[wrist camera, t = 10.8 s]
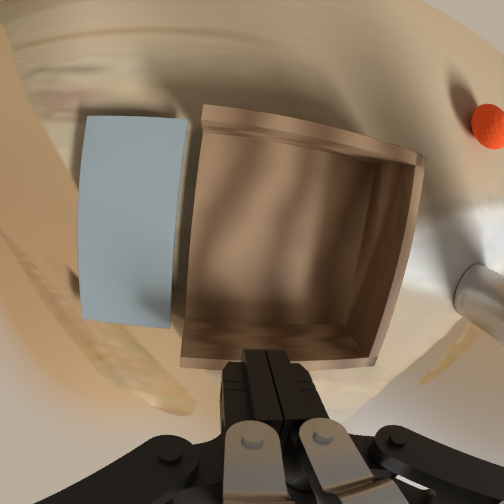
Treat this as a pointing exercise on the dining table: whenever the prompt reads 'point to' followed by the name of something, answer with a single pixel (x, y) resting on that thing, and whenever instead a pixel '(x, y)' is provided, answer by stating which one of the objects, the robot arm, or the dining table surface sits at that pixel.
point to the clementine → (488, 126)
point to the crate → (296, 240)
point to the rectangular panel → (129, 218)
